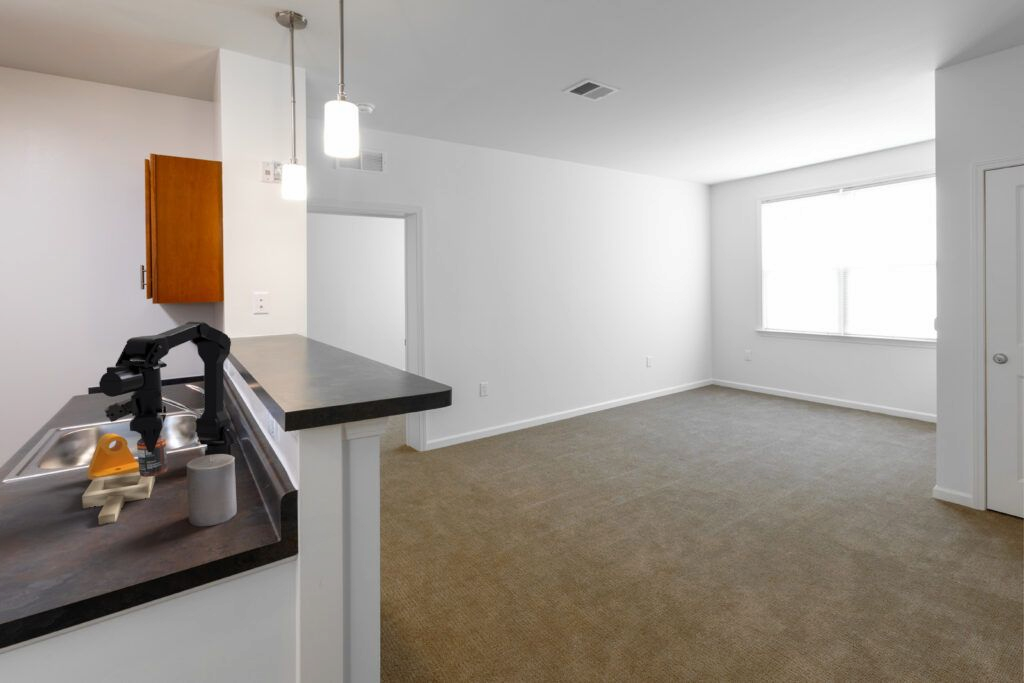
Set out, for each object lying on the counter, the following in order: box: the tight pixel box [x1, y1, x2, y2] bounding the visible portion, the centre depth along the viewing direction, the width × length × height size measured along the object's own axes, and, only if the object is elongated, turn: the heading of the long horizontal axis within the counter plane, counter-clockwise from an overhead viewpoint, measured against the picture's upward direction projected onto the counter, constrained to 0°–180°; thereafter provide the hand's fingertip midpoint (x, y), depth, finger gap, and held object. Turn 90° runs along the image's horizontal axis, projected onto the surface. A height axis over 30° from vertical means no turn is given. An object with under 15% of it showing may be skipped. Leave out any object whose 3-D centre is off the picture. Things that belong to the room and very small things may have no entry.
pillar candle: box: [186, 454, 238, 527], centre depth 117 cm, size 10×10×15 cm
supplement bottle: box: [136, 434, 169, 477], centre depth 127 cm, size 6×6×11 cm
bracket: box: [86, 433, 139, 482], centre depth 140 cm, size 11×7×12 cm, turn 147°
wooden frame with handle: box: [81, 472, 156, 526], centre depth 125 cm, size 13×25×3 cm, turn 30°
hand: (152, 448), depth 127 cm, fingers closed on supplement bottle, 6 cm apart
